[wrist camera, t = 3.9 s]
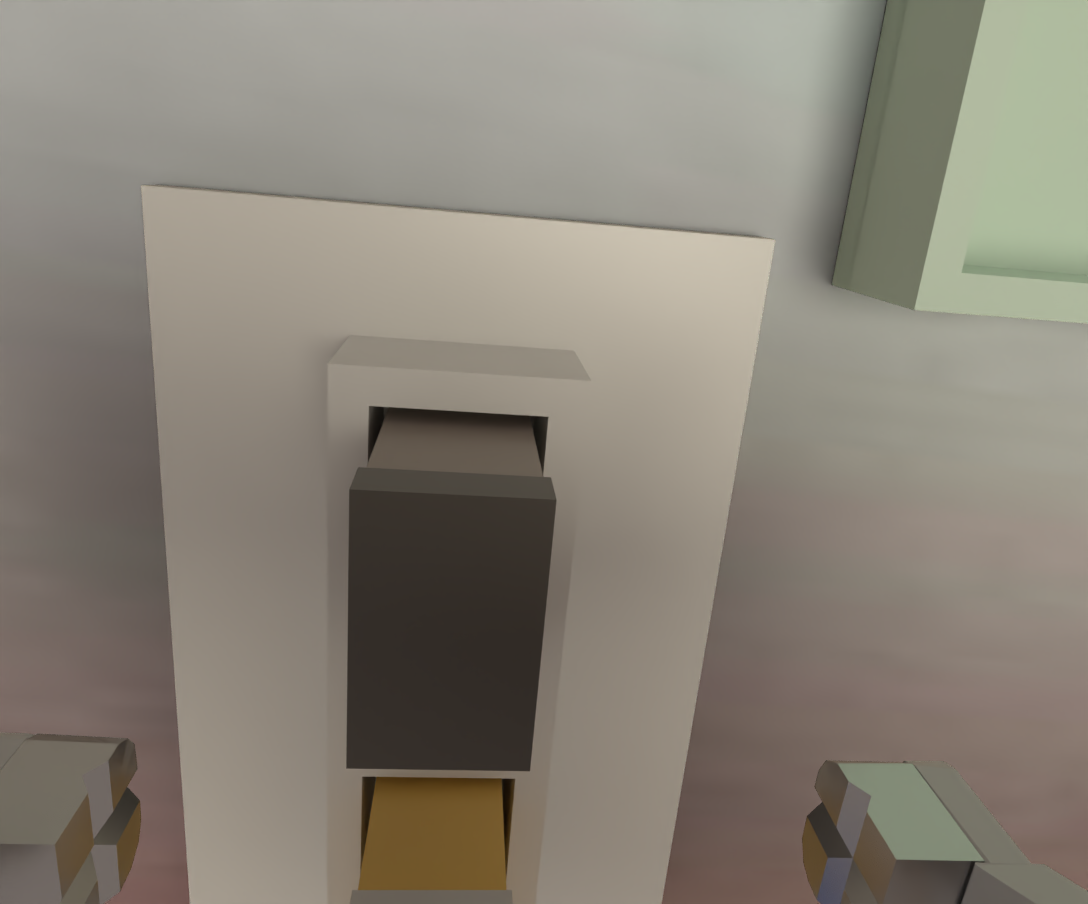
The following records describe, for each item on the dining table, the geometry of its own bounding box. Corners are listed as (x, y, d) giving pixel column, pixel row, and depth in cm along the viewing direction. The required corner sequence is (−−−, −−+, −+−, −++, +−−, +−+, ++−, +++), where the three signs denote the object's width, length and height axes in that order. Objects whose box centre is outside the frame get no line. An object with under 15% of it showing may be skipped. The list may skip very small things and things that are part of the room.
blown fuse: (528, 388, 19) (556, 499, 13) (512, 583, 21) (529, 771, 14) (392, 380, 19) (349, 489, 12) (387, 578, 21) (346, 768, 14)
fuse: (502, 707, 22) (513, 933, 16) (489, 856, 24) (496, 1118, 17) (384, 704, 22) (344, 934, 15) (379, 856, 23) (342, 1122, 17)
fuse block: (761, 236, 20) (828, 251, 16) (646, 926, 26) (675, 1050, 23) (158, 184, 18) (74, 187, 14) (204, 928, 25) (156, 1062, 21)
